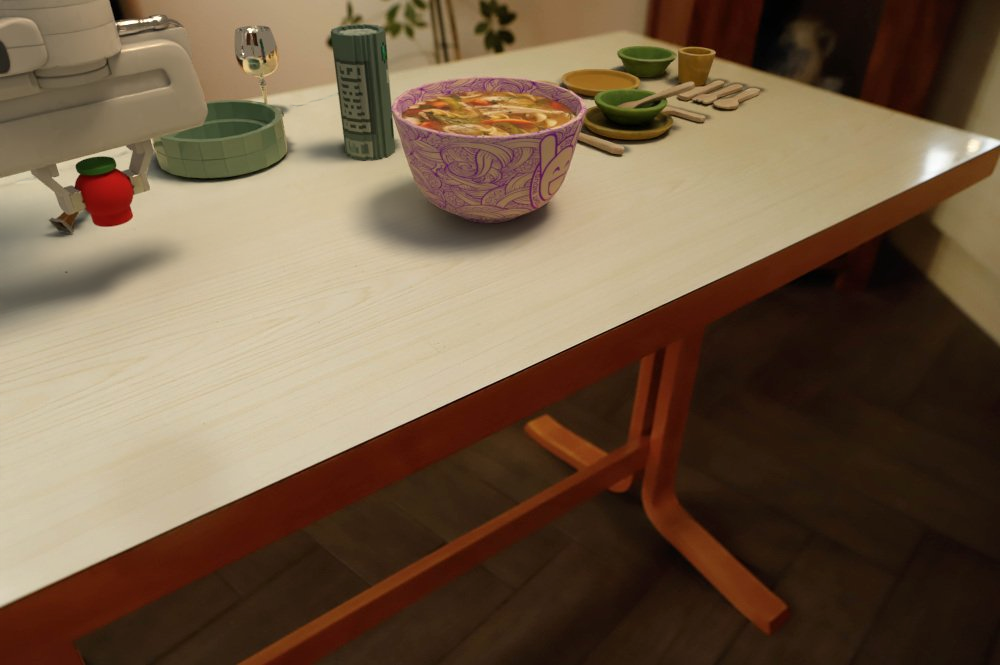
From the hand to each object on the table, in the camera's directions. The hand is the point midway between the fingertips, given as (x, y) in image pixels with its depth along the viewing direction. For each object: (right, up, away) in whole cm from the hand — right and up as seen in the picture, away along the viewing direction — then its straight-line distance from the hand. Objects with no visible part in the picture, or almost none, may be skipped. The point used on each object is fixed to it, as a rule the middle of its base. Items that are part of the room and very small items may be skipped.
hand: (106, 200), depth 62 cm
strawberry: (0, -1, +1) cm, 2 cm away
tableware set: (+53, +24, +50) cm, 77 cm away
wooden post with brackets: (-10, +1, +16) cm, 19 cm away
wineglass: (0, +20, +44) cm, 48 cm away
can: (+17, +12, +32) cm, 39 cm away
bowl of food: (+33, +3, +19) cm, 38 cm away
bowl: (-1, +11, +30) cm, 32 cm away
